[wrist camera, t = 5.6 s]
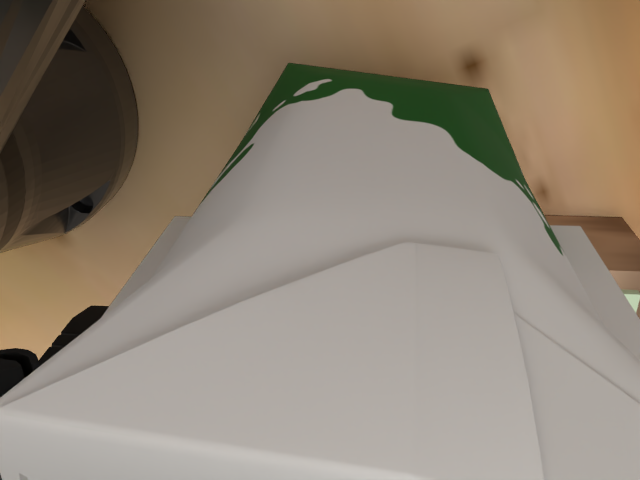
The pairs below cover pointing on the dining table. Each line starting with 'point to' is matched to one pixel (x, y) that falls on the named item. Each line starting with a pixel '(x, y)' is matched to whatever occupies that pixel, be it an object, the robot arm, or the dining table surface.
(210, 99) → the dining table surface
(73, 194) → the robot arm
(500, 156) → the soya milk
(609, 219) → the step block
